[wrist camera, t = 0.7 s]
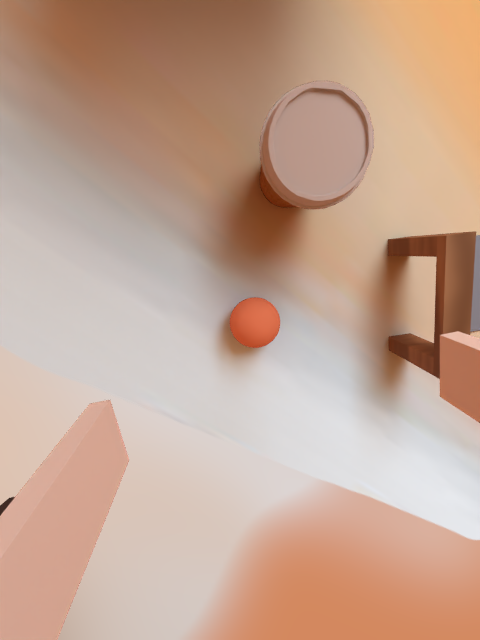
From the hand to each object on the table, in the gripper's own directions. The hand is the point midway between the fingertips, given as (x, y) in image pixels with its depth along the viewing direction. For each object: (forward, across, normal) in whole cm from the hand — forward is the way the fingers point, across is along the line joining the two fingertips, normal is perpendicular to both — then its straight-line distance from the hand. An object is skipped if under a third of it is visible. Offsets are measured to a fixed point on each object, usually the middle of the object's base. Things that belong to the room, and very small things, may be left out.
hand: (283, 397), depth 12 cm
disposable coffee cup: (+27, +8, +12) cm, 31 cm away
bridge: (+27, +22, -4) cm, 35 cm away
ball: (+24, +2, -3) cm, 24 cm away
